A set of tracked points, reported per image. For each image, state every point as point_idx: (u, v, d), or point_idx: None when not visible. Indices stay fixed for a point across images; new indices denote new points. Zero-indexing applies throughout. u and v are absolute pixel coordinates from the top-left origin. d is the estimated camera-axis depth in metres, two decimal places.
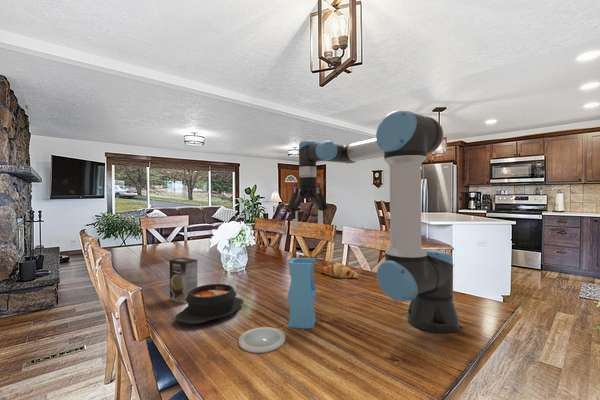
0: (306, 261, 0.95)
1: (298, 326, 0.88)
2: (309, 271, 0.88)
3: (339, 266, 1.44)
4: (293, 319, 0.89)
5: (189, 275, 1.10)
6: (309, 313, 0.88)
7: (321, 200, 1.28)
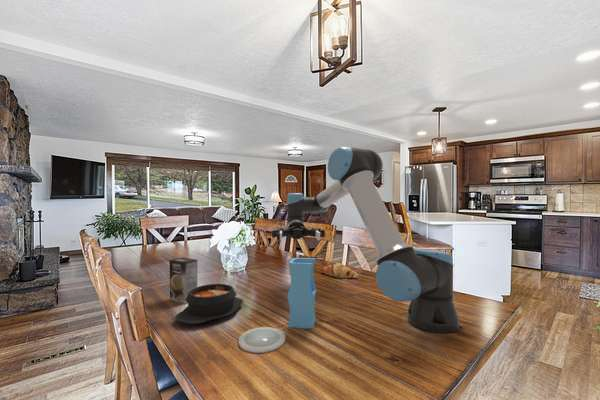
0: (306, 261, 0.95)
1: (298, 326, 0.88)
2: (309, 271, 0.88)
3: (339, 266, 1.44)
4: (293, 319, 0.89)
5: (189, 275, 1.10)
6: (309, 313, 0.88)
7: None
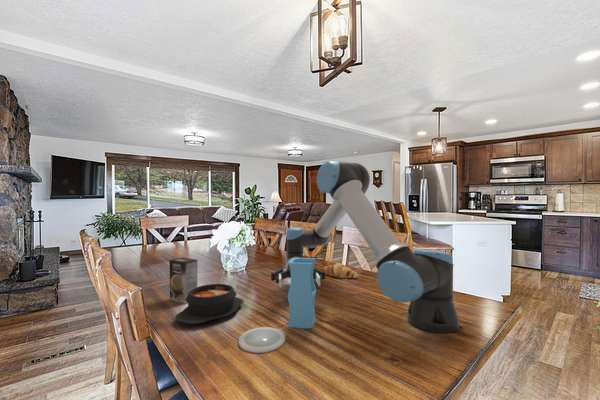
0: (306, 261, 0.95)
1: (298, 326, 0.88)
2: (309, 271, 0.88)
3: (339, 266, 1.44)
4: (293, 319, 0.89)
5: (189, 275, 1.10)
6: (309, 313, 0.88)
7: None
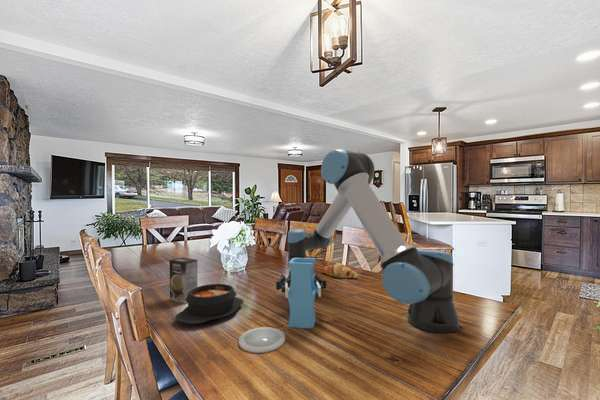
0: (306, 261, 0.95)
1: (298, 326, 0.88)
2: (309, 271, 0.88)
3: (339, 266, 1.44)
4: (293, 319, 0.89)
5: (189, 275, 1.10)
6: (309, 313, 0.88)
7: None
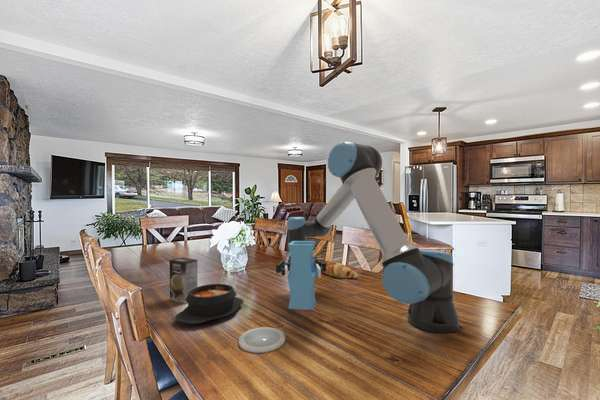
0: (306, 244, 0.95)
1: (298, 308, 0.88)
2: (309, 252, 0.88)
3: (339, 266, 1.44)
4: (293, 301, 0.89)
5: (189, 275, 1.10)
6: (309, 294, 0.88)
7: None
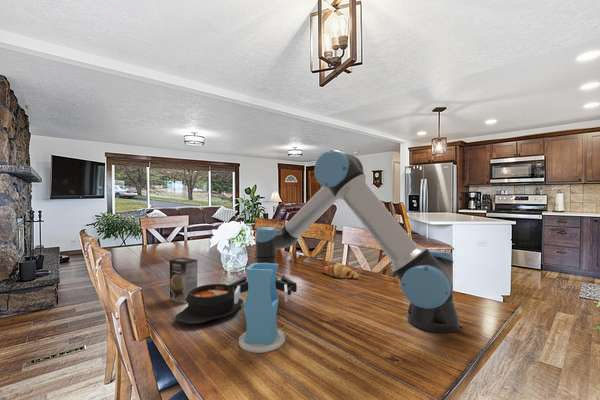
0: (267, 267, 0.83)
1: (255, 342, 0.77)
2: (269, 279, 0.77)
3: (340, 266, 1.44)
4: (250, 334, 0.77)
5: (189, 275, 1.10)
6: (268, 327, 0.77)
7: (286, 283, 0.89)
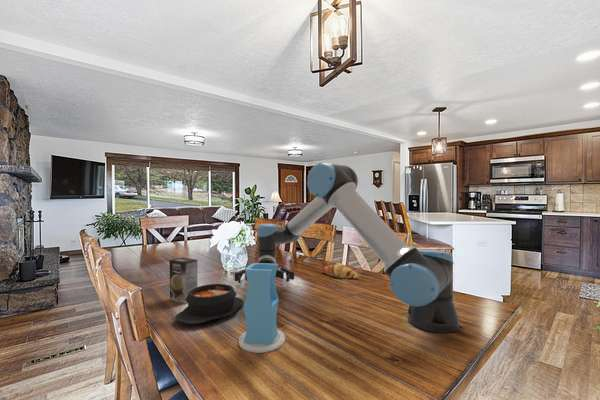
0: (267, 267, 0.83)
1: (255, 342, 0.77)
2: (268, 279, 0.77)
3: (340, 266, 1.44)
4: (250, 334, 0.77)
5: (189, 275, 1.10)
6: (268, 327, 0.77)
7: (285, 272, 1.01)
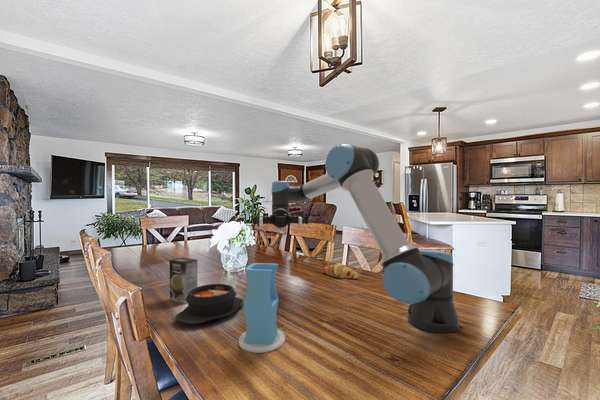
0: (267, 267, 0.83)
1: (255, 342, 0.77)
2: (268, 279, 0.77)
3: (340, 266, 1.44)
4: (250, 334, 0.77)
5: (189, 275, 1.10)
6: (268, 327, 0.77)
7: None
